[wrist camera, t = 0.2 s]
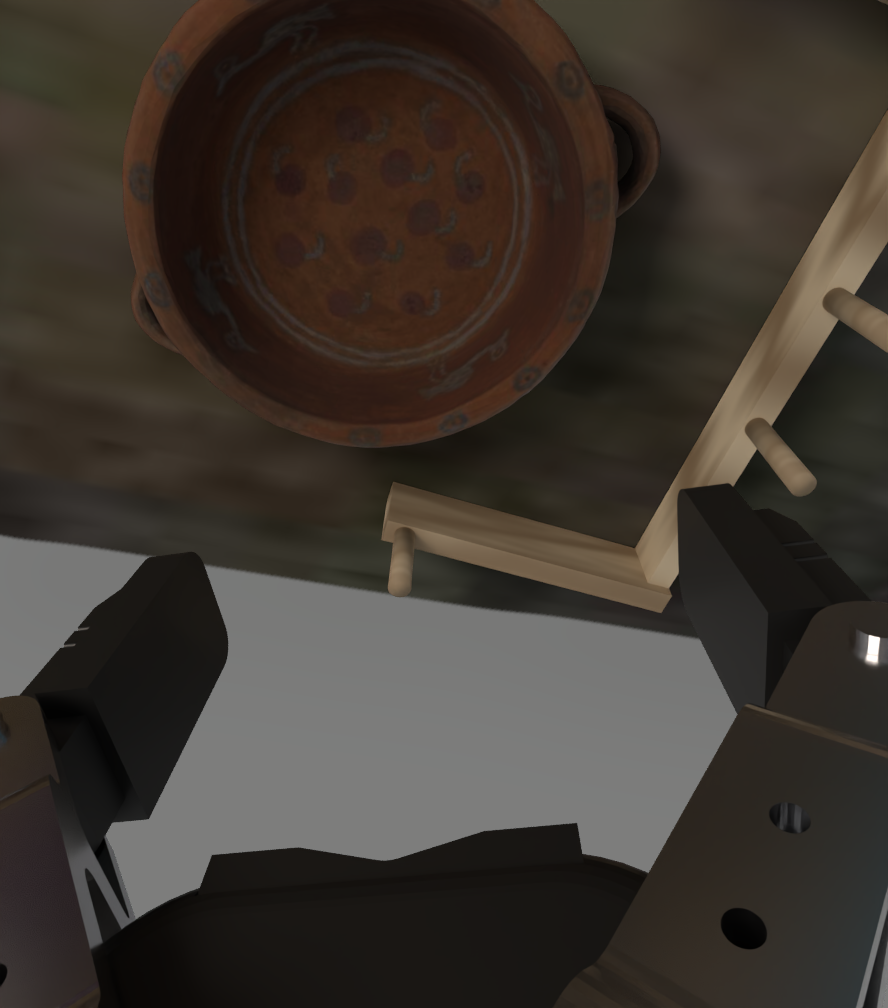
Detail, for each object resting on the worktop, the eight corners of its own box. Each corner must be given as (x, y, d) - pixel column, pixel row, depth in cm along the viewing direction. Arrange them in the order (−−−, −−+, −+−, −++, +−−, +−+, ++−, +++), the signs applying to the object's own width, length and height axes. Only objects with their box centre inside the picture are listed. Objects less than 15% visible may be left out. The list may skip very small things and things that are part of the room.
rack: (605, -170, 23) (668, -262, 16) (985, -1, 26) (1177, -20, 19) (387, 500, 37) (373, 598, 31) (644, 570, 40) (684, 676, 33)
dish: (34, 90, 28) (-41, 96, 23) (587, -173, 23) (617, -223, 19) (249, 458, 36) (222, 511, 32) (678, 315, 32) (712, 355, 28)
